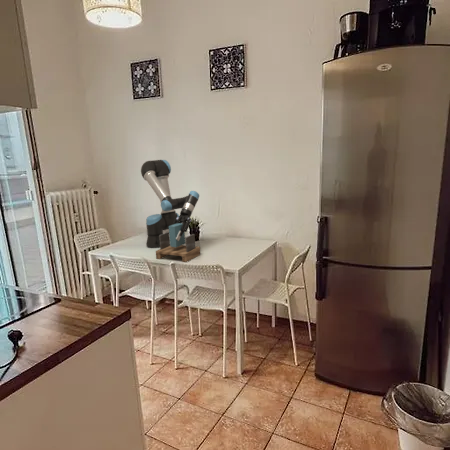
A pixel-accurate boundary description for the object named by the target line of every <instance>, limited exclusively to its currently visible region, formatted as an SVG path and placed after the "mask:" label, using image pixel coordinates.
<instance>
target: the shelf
mask: <svg viewBox="0 0 450 450" xmlns="http://www.w3.org/2000/svg"><path fill="white" fill-rule="evenodd" d="M169 237H170V236H169V231H167V232H163V234H161V235H159V240H160V247H159V249H157V250H155V258H156V259H157V260H162V259H164V258H165V257H168V256H169V255H170V256H177V257H178V256H179V257H181V262H182V263H188V262H189V260H190V261H191V259H192V260H193V259H195V258H196V257H199V256H200V255H201V247H200V246H198V245H197V246H196V238H195V237H196V234H195V233H192V234H190V235H188V236H185V244H183V245H181V246H178V247H170V238H169ZM187 261H188V262H187Z"/></svg>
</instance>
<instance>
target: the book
mask: <svg viewBox="0 0 450 450" xmlns="http://www.w3.org/2000/svg"><path fill="white" fill-rule="evenodd" d="M182 225H183V224H182V223H178V224H174V225H171V226H169V229H168V232H169V237H170V238H169V239H170V247H178V246H181V245H186V240H185V238H186V232H184V233H183V234H182V236H181V237H180V239H179V241H178V240H177V239H176V237H177V235H178V233H179V231H181V230H180V229H181V227H182Z"/></svg>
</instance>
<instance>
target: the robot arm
mask: <svg viewBox="0 0 450 450" xmlns="http://www.w3.org/2000/svg"><path fill="white" fill-rule="evenodd" d="M171 171H172V168H171V164H170V162H169V161H167V160H166V159H156V160H155V159H154V160H146V161H145V162H144V163H142V165H141V167H140V174H141V176H142V178H143V180H144V181H146V182H147V183H148V184H149V185H150V188H151V189H152V190H153V192H154V193H155V195H156V196H157V198H158V199H159V201H160V207H161V212H160V213H156V214H150V215H149V216H147V217H146V221H145V222H146V223H145V225H146V224H147V226H146V234H147V233H148V235H147V239H146V242H145V244H146V247H147V248H151V249H158V248H160V240H159V235H161V234H164V231H166V230H167V231H168V230H169V226H171V225H174V224H178V223H182V224H183V225H182V227H181V229H180V230H181V231H179V233H178V235H177V237H176V239H177V240H178V241H179V239H180V237H181V236H182V234H183V233H184V232H185V233H187V232H188V230H189V227H190V224H191V222H193V219H192V218H191V216H192V214H193V212H194V209H195V207H196V205H197V202H198V201H199V198H200V193H199V192H197V191H196V190H191V191H189V193H188V194H187V195H186V196H184V197H183V196H182V197H177V198H176V197H175V198H172V196H171V195H172V194H171V189H170V185H169V180H168V179H169V177H170V174H171ZM179 209H180V212H179V213H180V214H179V213H178V212H176V210H179ZM169 239H170V236H169Z"/></svg>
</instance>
